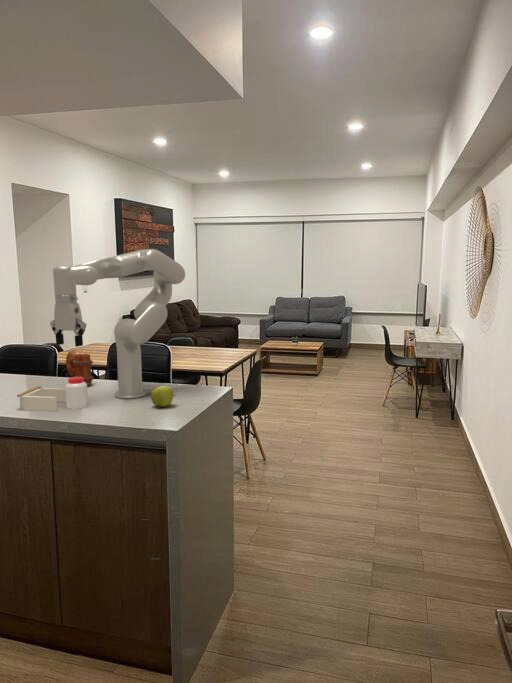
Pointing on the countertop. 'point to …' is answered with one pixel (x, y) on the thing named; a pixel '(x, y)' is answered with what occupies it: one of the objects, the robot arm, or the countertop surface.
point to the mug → (79, 366)
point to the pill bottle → (76, 393)
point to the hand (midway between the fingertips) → (69, 345)
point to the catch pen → (42, 398)
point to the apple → (162, 396)
